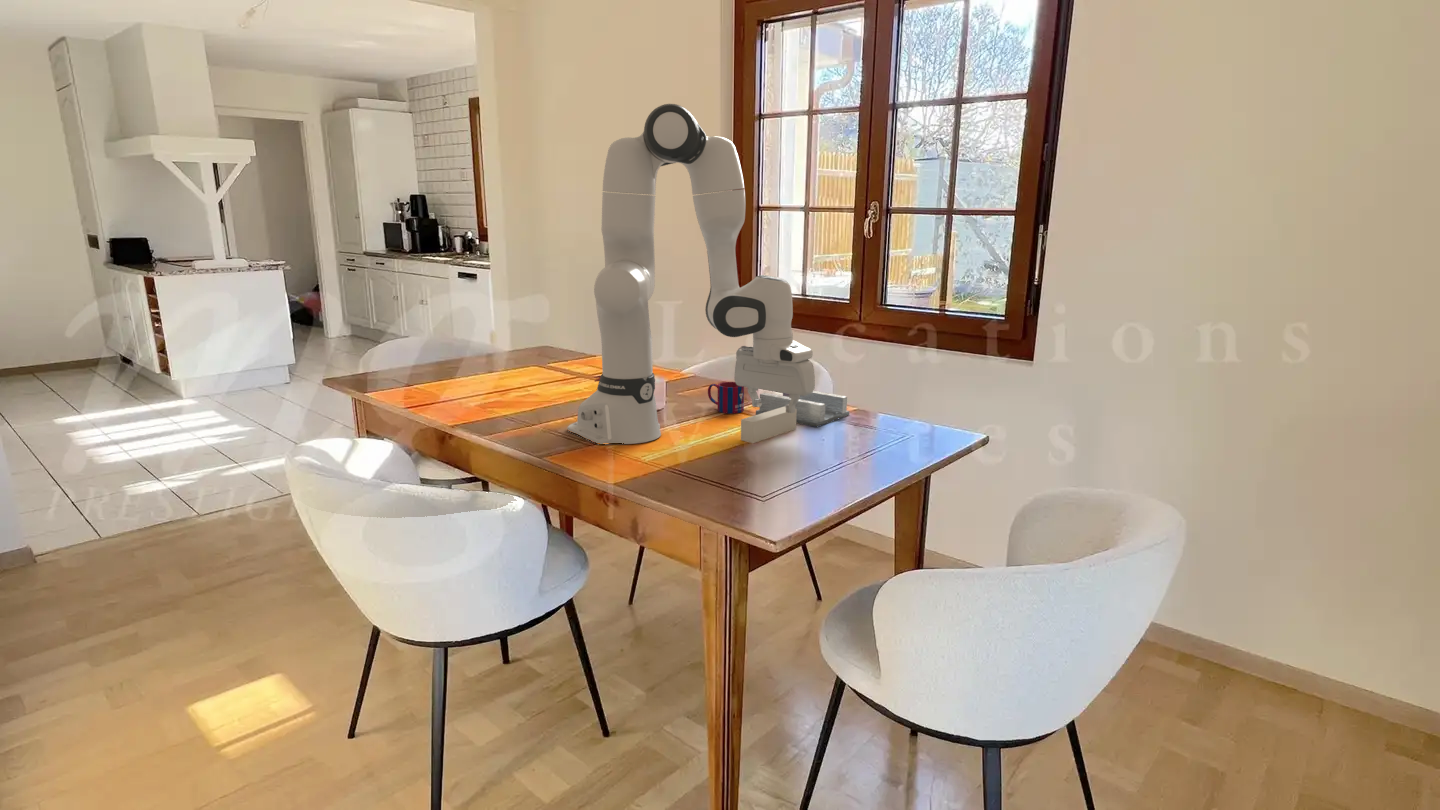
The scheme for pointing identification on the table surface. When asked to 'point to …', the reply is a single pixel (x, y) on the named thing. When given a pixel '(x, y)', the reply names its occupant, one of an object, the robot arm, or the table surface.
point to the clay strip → (767, 425)
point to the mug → (728, 397)
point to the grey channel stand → (809, 407)
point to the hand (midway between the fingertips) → (773, 409)
